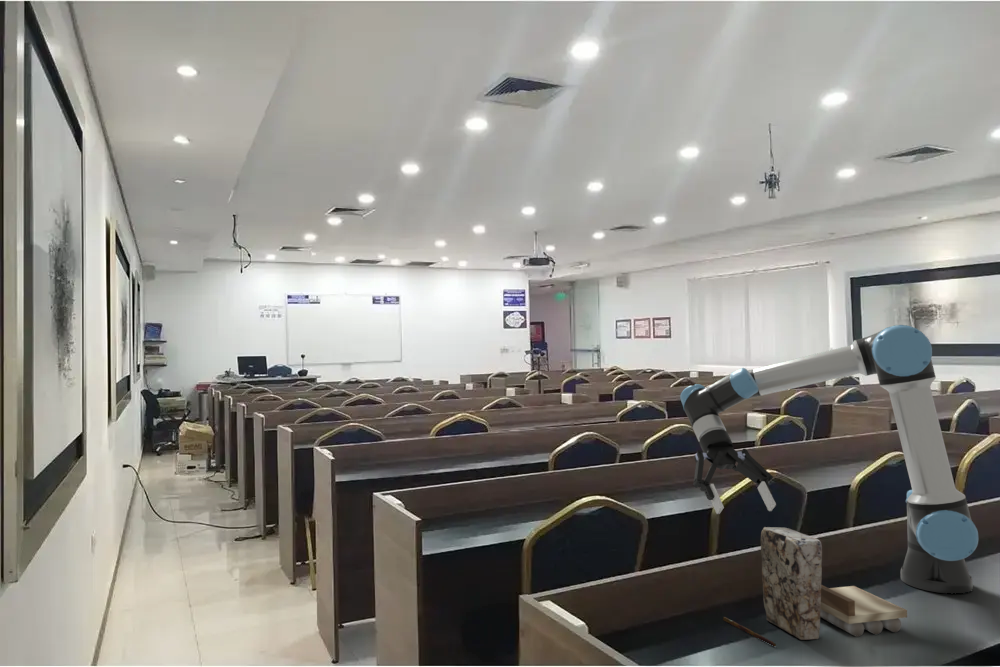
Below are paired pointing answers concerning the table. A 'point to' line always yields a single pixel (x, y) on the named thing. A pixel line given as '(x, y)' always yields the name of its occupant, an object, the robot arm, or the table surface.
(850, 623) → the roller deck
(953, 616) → the table surface
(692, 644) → the table surface
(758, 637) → the dark brown thin bar
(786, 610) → the stone block
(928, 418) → the robot arm
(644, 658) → the table surface
